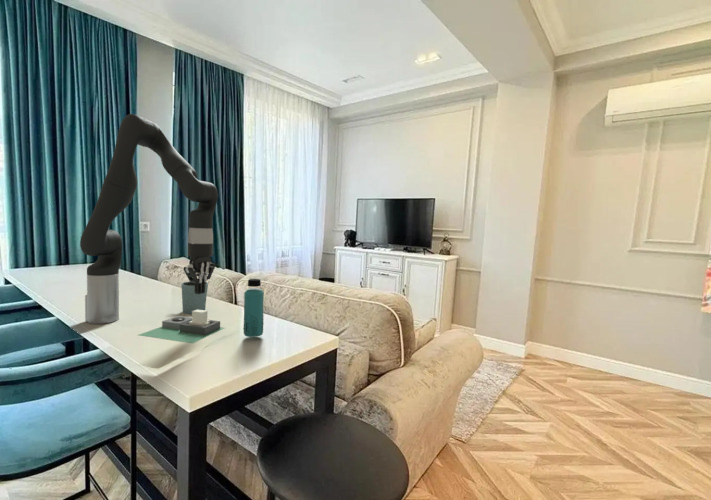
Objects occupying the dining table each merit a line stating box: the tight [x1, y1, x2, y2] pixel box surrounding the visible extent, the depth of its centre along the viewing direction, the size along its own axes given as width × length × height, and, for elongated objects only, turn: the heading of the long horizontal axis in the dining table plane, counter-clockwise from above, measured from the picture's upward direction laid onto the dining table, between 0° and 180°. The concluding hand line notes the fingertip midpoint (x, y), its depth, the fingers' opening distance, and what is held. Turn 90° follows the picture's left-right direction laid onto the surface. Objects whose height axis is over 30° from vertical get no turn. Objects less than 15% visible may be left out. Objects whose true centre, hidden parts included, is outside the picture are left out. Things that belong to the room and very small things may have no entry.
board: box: [138, 315, 225, 344], centre depth 110 cm, size 20×16×4 cm
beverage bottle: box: [242, 278, 265, 338], centre depth 111 cm, size 6×7×20 cm
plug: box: [189, 309, 211, 326], centre depth 112 cm, size 6×4×6 cm
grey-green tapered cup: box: [180, 281, 209, 315], centre depth 139 cm, size 10×10×12 cm
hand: (199, 293), depth 112 cm, fingers closed
